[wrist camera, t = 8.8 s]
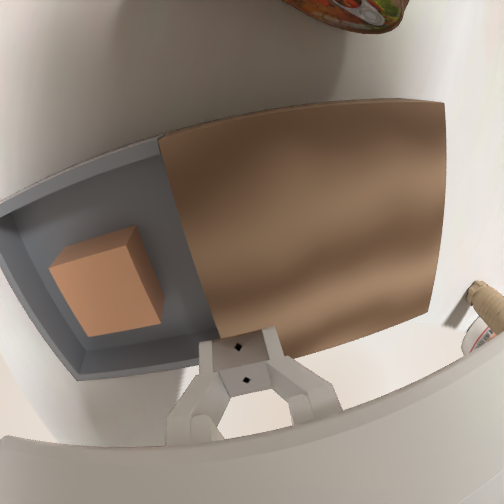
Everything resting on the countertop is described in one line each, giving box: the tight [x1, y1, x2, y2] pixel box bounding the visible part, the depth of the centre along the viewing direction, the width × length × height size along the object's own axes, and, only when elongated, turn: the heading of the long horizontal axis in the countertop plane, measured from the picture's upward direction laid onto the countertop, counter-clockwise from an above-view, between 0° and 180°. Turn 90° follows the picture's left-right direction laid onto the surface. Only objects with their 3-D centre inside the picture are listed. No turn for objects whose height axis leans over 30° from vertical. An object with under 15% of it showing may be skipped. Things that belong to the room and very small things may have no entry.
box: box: [0, 133, 221, 381], centre depth 19 cm, size 16×14×4 cm
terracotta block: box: [49, 225, 165, 337], centre depth 18 cm, size 6×6×3 cm
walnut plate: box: [158, 98, 446, 359], centre depth 19 cm, size 16×16×5 cm
